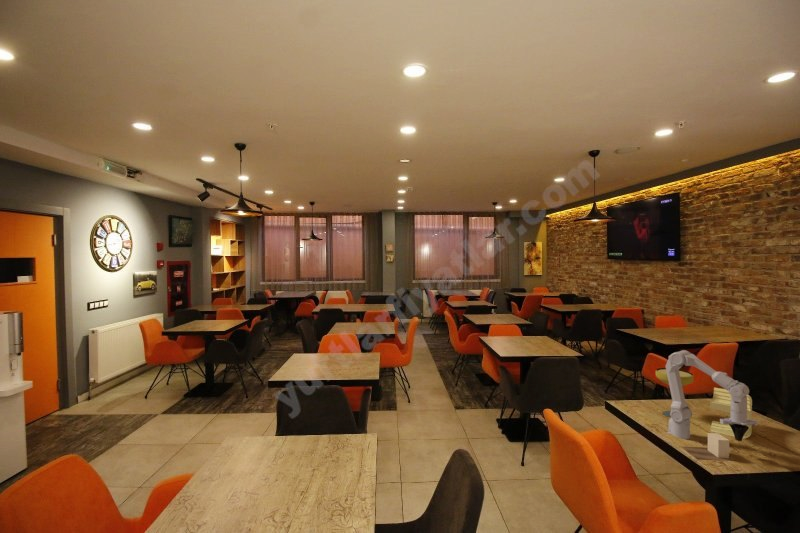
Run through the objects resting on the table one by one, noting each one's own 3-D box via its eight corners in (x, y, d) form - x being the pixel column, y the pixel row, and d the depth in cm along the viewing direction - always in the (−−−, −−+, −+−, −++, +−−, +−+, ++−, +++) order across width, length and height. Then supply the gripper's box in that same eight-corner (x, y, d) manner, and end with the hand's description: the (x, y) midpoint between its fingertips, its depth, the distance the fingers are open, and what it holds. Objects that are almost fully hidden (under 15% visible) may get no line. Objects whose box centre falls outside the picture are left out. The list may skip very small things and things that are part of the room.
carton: (707, 450, 182) (707, 433, 182) (717, 450, 182) (718, 433, 182) (718, 457, 176) (718, 439, 175) (729, 458, 175) (729, 440, 175)
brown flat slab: (680, 449, 186) (680, 446, 186) (716, 451, 184) (717, 447, 184) (697, 462, 174) (697, 459, 174) (736, 464, 173) (736, 461, 172)
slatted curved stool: (751, 446, 189) (751, 410, 188) (709, 436, 199) (709, 402, 199) (751, 426, 211) (752, 393, 211) (713, 418, 222) (714, 387, 221)
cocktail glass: (695, 424, 214) (696, 378, 214) (656, 417, 223) (656, 374, 223) (690, 412, 230) (691, 370, 230) (654, 407, 239) (654, 366, 239)
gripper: (728, 413, 174) (727, 443, 175) (763, 414, 173) (762, 445, 173) (716, 407, 181) (716, 436, 182) (750, 408, 180) (750, 437, 180)
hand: (738, 440), depth 178 cm, fingers closed
